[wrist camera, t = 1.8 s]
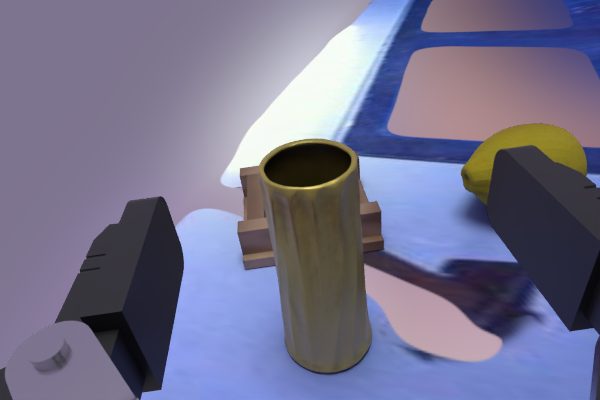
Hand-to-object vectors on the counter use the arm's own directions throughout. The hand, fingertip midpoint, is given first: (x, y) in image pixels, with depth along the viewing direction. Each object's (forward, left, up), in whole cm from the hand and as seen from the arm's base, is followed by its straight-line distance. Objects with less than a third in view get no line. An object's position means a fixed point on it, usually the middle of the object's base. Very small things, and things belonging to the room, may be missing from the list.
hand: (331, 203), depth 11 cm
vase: (0, -11, -20) cm, 23 cm away
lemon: (-19, -22, -20) cm, 35 cm away
